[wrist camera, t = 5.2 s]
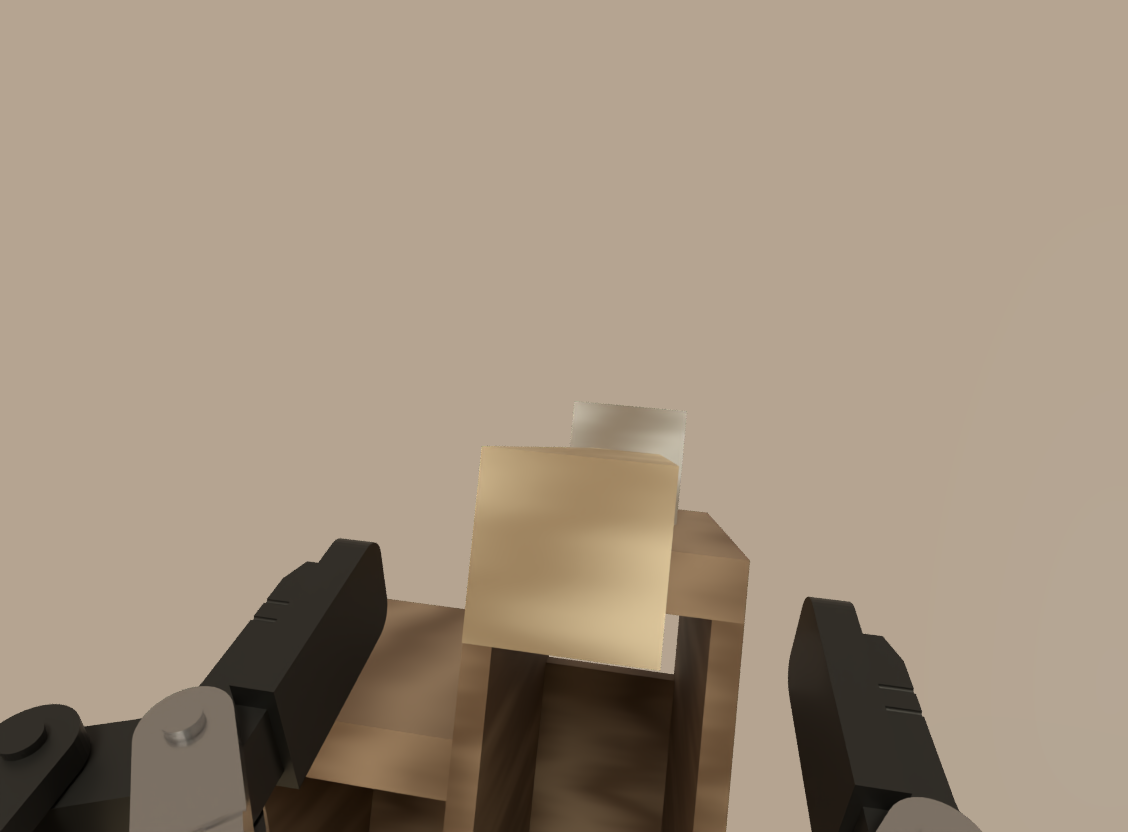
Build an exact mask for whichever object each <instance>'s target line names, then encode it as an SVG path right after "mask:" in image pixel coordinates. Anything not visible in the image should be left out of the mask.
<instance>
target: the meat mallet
mask: <svg viewBox="0 0 1128 832" xmlns="http://www.w3.org/2000/svg"><path fill="white" fill-rule="evenodd" d="M686 414H687V411H676V410H666V409H655V408H644V407H633V406H621V405H610V404H599V403H589V402H577V401H575V403H574V413H573V424H572V433H571V443H570V447H505V446H503V447H502V446H500V447H499V446H482V450H481V461H480V470H479V479H478V489H477V499H476V508H475V518H474V528H473V538H472V548H471V558H470V567H469V577H468V586H467V596H466V606H465V616H464V625H463V635H462V643H466V644H474V645H481V646H488V647H495V648H502V649H509V650H516V651H523V652H530V653H537V654H544V655H552V656H559V657H566V658H573V659H580V660H587V661H594V662H601V663H608V664H615V665H622V666H629V667H636V668H644V669H651V670H658V671H660V668H661V657H662V645H663V636H664V625H665V614H666V603H667V592H668V581H669V571H670V560H671V549H672V538H673V527H674V525H676V524H677V513H678V501H679V491H680V480H681V469H682V459H683V448H684V436H685V425H686Z"/></svg>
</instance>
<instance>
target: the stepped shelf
mask: <svg viewBox="0 0 1128 832" xmlns="http://www.w3.org/2000/svg"><path fill="white" fill-rule="evenodd" d="M749 565H750V560H749V559H748V558H747V557H746V556H745V554H744V553H743V552H742V551H741V550H740V549H739V548H738V547H737V546H736V544H735V543H734V542H733V541H732V540H731V539H730V538H729V536H728V535H727V534H726V533H725V532H724V531H723V530H722V529H721V527H719V525H718V524H717V523H716V522H715V521H714V520H713V519H712V517H711V516H710V515H709V514H708V513H705V512H695V511H687V510H678V513H677V524H676V525H674V527H673V538H672V549H671V560H670V571H669V581H668V592H667V603H666V614H672V615H679V626H678V637H677V649H676V660H675V670H674V674H667V673H659V672H652V671H645V670H638V669H631V668H624V667H617V666H610V665H603V664H595V663H589V662H582V661H575V660H568V659H560V658H553V657H549V655H544V654H537V653H530V652H523V651H516V650H509V649H502V648H495V647H488V646H481V645H474V644H466V643H462V635H463V625H464V616H465V609H459V608H451V607H444V606H436V605H428V604H421V603H414V602H406V601H399V600H392V599H387V616H386V621H385V625H384V628H383V631H382V633H381V635H380V637H379V639H378V641H377V643H376V645H375V647H374V649H373V651H372V653H371V654H370V656H369V658H368V660H367V662H366V664H365V666H364V668H363V670H362V671H361V673H360V675H359V677H358V679H357V681H356V683H355V685H354V687H353V688H352V690H351V692H350V694H349V696H348V698H347V700H346V702H345V704H344V706H343V707H342V709H341V711H340V713H339V715H338V717H337V719H336V721H335V723H334V724H333V726H332V728H331V730H330V732H329V734H328V736H327V738H326V740H325V741H324V743H323V745H322V747H321V749H320V751H319V753H318V755H317V757H316V758H315V760H314V762H313V764H312V766H311V768H310V770H309V772H308V774H307V775H306V777H305V779H304V781H303V783H302V785H301V787H300V789H294V788H288V787H282V786H277V785H276V786H275V788H274V790H273V792H272V793H271V795H270V797H269V799H268V800H267V802H266V804H265V809H266V813H267V819H268V826H269V832H726V826H727V814H728V803H729V792H730V780H731V769H732V758H733V746H734V735H735V723H736V711H737V701H738V689H739V678H740V667H741V655H742V643H743V633H744V620H745V610H746V599H747V587H748V575H749Z"/></svg>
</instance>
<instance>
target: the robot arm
mask: <svg viewBox="0 0 1128 832" xmlns="http://www.w3.org/2000/svg"><path fill="white" fill-rule="evenodd" d="M386 616H387V595H386V587H385V580H384V573H383V565H382V558H381V551H380V547H379V545H378V544H377V543H374V542H366V541H357V540H349V539H337V540H335V541H334V542H333V543H332V545H331V546H330V547H329V549H328V550H327V552H326V553H325V554H324V556H323V557H322V559H321V560H320V561H319V563H315V562H306V563H304V564H303V565H302V566H300V567H299V568H297V569H296V570H294V571H293V572H291V573H290V574H289V575H287V576H286V577H284V578H283V579H282V580H281V582H280V583H279V584H278V585H277V587H276V588H275V589H274V591H273V592H272V593H271V595H270V596H269V597H268V598H267V602H266V603H264V604H263V605H262V606H261V607H260V609H259V610H258V611H257V613H256V614H255V615H254V620H250V622H249V623H248V624H247V625H246V627H245V628H244V629H243V631H242V632H241V633H240V634H239V636H238V637H237V638H236V640H235V641H234V642H233V644H232V645H231V646H230V647H229V649H228V650H227V651H226V653H225V654H224V655H223V656H222V658H221V659H220V660H219V662H218V663H217V664H216V665H215V667H214V668H213V669H212V671H211V672H210V673H209V675H208V676H207V677H206V678H205V680H204V681H203V682H202V683H201V684H200V686H199V687H192V688H188V689H185V690H182V691H179V692H177V693H174V694H172V695H170V696H168V697H166V698H165V699H163V700H162V701H160V702H159V703H157V704H156V705H155V706H153V707H152V708H151V709H150V710H149V711H148V712H147V713H146V714H145V715H144V716H143V718H141V719H136V720H129V721H122V722H114V723H107V724H100V725H93V726H86V727H84V726H83V723H82V721H81V719H80V717H79V715H78V714H77V712H76V711H75V710H74V709H73V708H70V707H68V706H65V705H60V704H51V705H42V706H38V707H34V708H31V709H28V710H25V711H23V712H20V713H18V714H16V715H14V716H12V717H10V718H8V719H6V720H5V721H3V722H2V723H0V832H269V826H268V819H267V813H266V809H265V804H266V802H267V800H268V799H269V797H270V795H271V793H272V792H273V790H274V788H275V786H276V785H277V786H282V787H288V788H294V789H300V787H301V785H302V783H303V781H304V779H305V777H306V775H307V774H308V772H309V770H310V768H311V766H312V764H313V762H314V760H315V758H316V757H317V755H318V753H319V751H320V749H321V747H322V745H323V743H324V741H325V740H326V738H327V736H328V734H329V732H330V730H331V728H332V726H333V724H334V723H335V721H336V719H337V717H338V715H339V713H340V711H341V709H342V707H343V706H344V704H345V702H346V700H347V698H348V696H349V694H350V692H351V690H352V688H353V687H354V685H355V683H356V681H357V679H358V677H359V675H360V673H361V671H362V670H363V668H364V666H365V664H366V662H367V660H368V658H369V656H370V654H371V653H372V651H373V649H374V647H375V645H376V643H377V641H378V639H379V637H380V635H381V633H382V631H383V628H384V625H385V621H386ZM788 688H789V696H790V703H791V709H792V715H793V721H794V727H795V733H796V739H797V745H798V751H799V757H800V763H801V769H802V775H803V781H804V787H805V794H806V799H807V806H808V812H809V818H810V824H811V830H812V832H982V831H981V830H980V829H979V828H978V827H977V826H976V825H975V824H974V823H973V822H972V821H971V820H970V819H969V818H967V817H966V816H965V815H963V814H962V813H961V812H960V811H959V810H958V807H957V805H956V803H955V801H954V798H953V795H952V792H951V789H950V787H949V784H948V781H947V778H946V776H945V773H944V770H943V768H942V765H941V762H940V759H939V757H938V754H937V751H936V748H935V746H934V743H933V740H932V737H931V735H930V732H929V729H928V726H927V724H926V721H925V718H924V717H922V710H921V707H920V704H919V702H918V699H917V696H916V694H914V692H913V689H914V688H913V686H912V683H911V680H910V677H909V674H908V672H907V669H906V666H905V664H904V661H903V660H902V659H901V657H900V656H899V655H898V654H897V653H896V652H895V650H894V649H893V648H892V647H891V646H890V645H889V643H888V642H887V641H886V640H885V639H884V637H883V636H877V635H868V634H863V633H862V630H861V628H860V624H859V621H858V617H857V614H856V611H855V608H854V606H853V604H852V603H851V602H846V601H839V600H831V599H822V598H814V597H807V598H806V599H805V601H804V603H803V607H802V611H801V615H800V619H799V623H798V627H797V631H796V635H795V639H794V643H793V647H792V651H791V655H790V660H789V668H788Z"/></svg>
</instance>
